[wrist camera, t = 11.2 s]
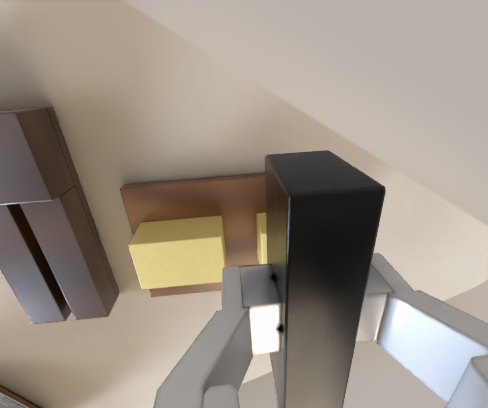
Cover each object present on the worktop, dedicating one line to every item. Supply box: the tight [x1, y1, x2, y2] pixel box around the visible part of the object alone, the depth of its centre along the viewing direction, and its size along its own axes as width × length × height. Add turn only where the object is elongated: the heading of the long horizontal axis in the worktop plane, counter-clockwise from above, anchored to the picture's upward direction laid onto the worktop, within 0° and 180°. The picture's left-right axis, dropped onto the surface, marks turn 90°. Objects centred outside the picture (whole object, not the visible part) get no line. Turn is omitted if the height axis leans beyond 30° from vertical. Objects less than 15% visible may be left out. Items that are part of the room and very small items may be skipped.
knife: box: [265, 150, 385, 408], centre depth 11 cm, size 16×2×6 cm, turn 3°
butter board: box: [120, 173, 266, 297], centre depth 24 cm, size 12×14×1 cm
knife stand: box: [0, 107, 119, 324], centre depth 21 cm, size 18×7×4 cm, turn 3°
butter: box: [128, 216, 227, 289], centre depth 22 cm, size 4×7×4 cm, turn 93°
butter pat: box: [256, 213, 267, 264], centre depth 22 cm, size 4×2×4 cm, turn 2°
